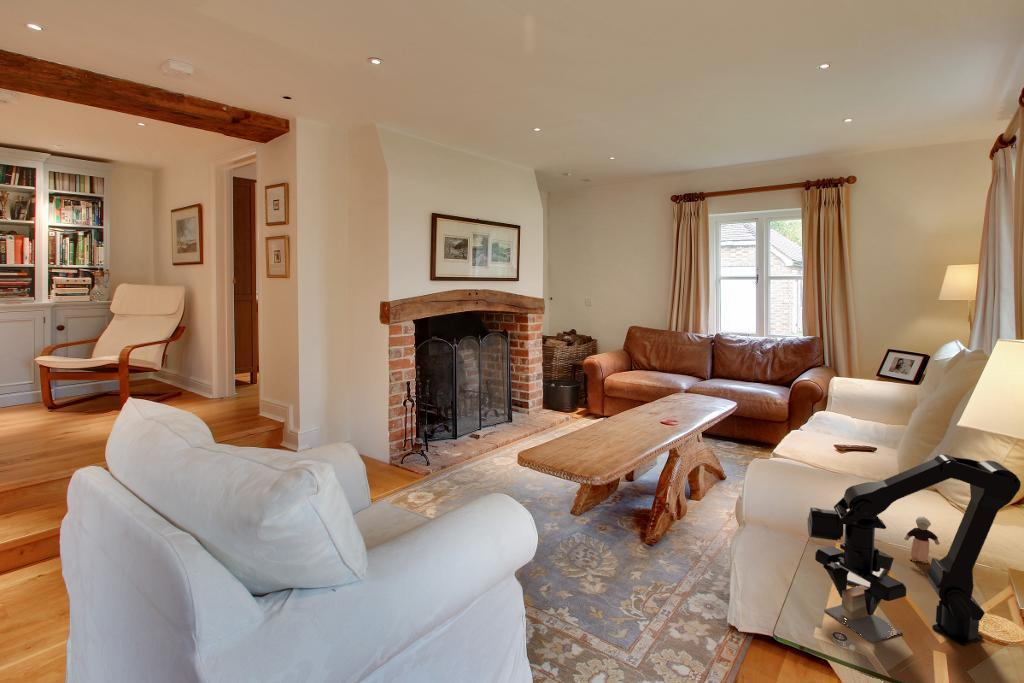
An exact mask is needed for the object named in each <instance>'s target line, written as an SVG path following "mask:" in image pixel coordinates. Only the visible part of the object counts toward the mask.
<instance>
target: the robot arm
mask: <svg viewBox="0 0 1024 683" xmlns="http://www.w3.org/2000/svg"><path fill="white" fill-rule="evenodd" d="M949 479H953V480H957V481H961V482H962V483H963V482H964V483H966V484H968V485H969V490H970V492H969V493H970V499H969V502H968V504H967V506H966V509H965V511H964V513H963V516H962V519H961V521H960V523H959V526H958V527H957V531H956V533H955V535H954V538H953V540H952V542H951V545H950V547H949V550H948V552H947V554H946V555H945V556H944V557H943V558H941V559H940V560H939V559H937V558H936V557H932V558H931V561H930V566H929V567H928V569H927V570H926V571H925V572H926V574H927V576H928V577H927V579H928V582H929V584H930V585H931V587H932V589H933V591H934V592H935V593H936V595H937V597H938V598H939V599H940V600H938V604H937V605H936V608H935V609H936V611H935V622H936V623H935V624H932V625H931V627H932V629H934V630H936V631H937V632H939V633H940V634H942V635H944V636H946V637H948V638H949V639H951V640H953V641H954V642H956V643H958V644H960V645H962V646H966V645H969V644H973V643H975V642H978V641H981V640H984V636H983V635H982V634H980V633H979V629H980V621H981V620H982V619H983V617H984V616H985V614H986V612H985V611H984V610H983V608H982V607H981V606H980V604H979V603H978V601H977V600H975V599H976V598H974V597H973V592H974V586H975V585H974V575H973V574H974V571H973V570H974V567H975V565H976V562H977V560H978V558H979V556H980V553H981V551H982V550H983V546H984V544H985V542H986V540H987V537H988V535H989V532H990V531H991V529H992V526H993V523H994V521H995V519H996V517H997V514H998V512H999V511H1000V510H1001V509H1003V508H1004V507H1006V506H1007V505H1009V504H1010V503H1011V502H1012V501H1013V499H1014V498H1015V497H1016V495H1017V494H1018V492H1019V491H1020V489H1021V486H1022V481H1021V480H1020V478H1019V477H1018V475H1016V474H1015V473H1014V472H1013V471H1011V470H1009V468H1007V467H1005V466H1004V465H1003V464H1001V463H1000V462H996V461H994V460H982V461H979V460H976V459H975V460H974V459H971V458H966V457H965V458H964V457H957V456H956V457H955V456H951V455H948V454H938V455H937V456H935V457H934V458H932V459H930V460H927V461H926V462H923V463H921V464H919V465H916V466H914V467H911V468H910V469H907V470H904V471H902V472H899V473H897V474H895V475H892V476H890V477H889V478H888V477H887V478H886V479H883V480H878V481H867V482H863V483H859V484H855V485H851V486H849V487H848V488H846V489H845V491H844V496H843V497H842V498H841V499H840V500H838V502H837V503H836V504H835V505H834V506H833V509H834V510H830V509H824V508H823V509H821V508H818V507H810V509H809V510H810V511H809V513H808V516H807V532H808V537H809V538H813V539H822V540H829V541H838V540H841V539H842V538H843V536H844V542H842V543H840V544H839V548H840V549H839V548H838V547H835V546H833V545H830V546H826V547H822V548H818V549H817V550H816V551H815V554H814V555H815V557H814V558H815V561H816V562H818V563H819V564H821V565H823V566H822V567H823V569H824V570H825V571H826V572H827V573H828V575H829V577H830V578H831V581H832V583H833V585H834V586H835V590H836V591H837V592H838V595H839V596H840V598H841V599H842V590H845V589H848V587H847V586H848V584H847V575H848V573H849V572H851V573H853V574H855V575H856V576H858V577H860V578H863V579H865V580H866V581H868V582H870V588H869V589H866V590H864V595H865V602H866V609H867V613H868V615H873V614H874V613H875V612H876V609H877V608H878V606H879V604H880V603H881V601H886V602H890V601H895V600H898V599H900V598H904V597H907V586H906V585H905V584H904V583H903V582H901V581H899V580H897V579H896V578H894V577H892V576H890V575H884V577H880V578H879V577H878V576H876V575H874V574H872V573H873V571H875V572H879V571H880V568H882V569H887V571H888V572H890V571H891V569H892V567H893V566H892V565H893V562H894V559H895V558H894V557H893V556H891V555H889V554H888V553H885V552H883V551H881V550H879V549H878V548H877V547H875V534H876V532H875V531H876V529H880V530H886V529H887V526H886V524H885V523H884V521H883V520H882V519H881V518H880V517H879V515H880V514H882V513H883V512H885V511H886V510H887V509H888V508H889V507H890V506H891V505H892V504H893V503H894V502H896V501H899V500H900V499H902V498H905V497H908V496H911V495H913V494H916V493H917V492H919V491H922V490H925V489H927V488H929V487H932V486H934V485H935V486H936V485H937V484H940V483H942V482H944V481H947V480H949Z"/></svg>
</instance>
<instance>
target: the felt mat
mask: <svg viewBox="0 0 1024 683" xmlns="http://www.w3.org/2000/svg"><path fill="white" fill-rule="evenodd" d="M823 611H824V612H825V613H827V614H828V615H829V616H831V617H832V616H833V617H832V618H834V617H835V618H837V619H838V620H839V621H838V620H837V619H836V620H837V621H838V622H840V621H841V622H843V623H845V624H846V625H848V626H849V627H850V628H851V629H850V628H849V627H848V628H849V629H850V630H852V629H853V630H855V631H856V632H858V633H859V634H861V635H862V636H863V637H864V638H863V637H862V636H861V637H862V638H863V639H865V638H866V639H867V640H866V639H865V640H866V641H868V642H869V641H870V643H871V644H874V643H877V642H879V641H883V640H882V639H884V640H886V639H885V638H887V637H889V636H891V635H890V633H891V631H893V630H892V629H893V628H894V627H895V626H894V627H893V628H891V627H892V626H893V625H892V624H890V623H889V622H887V621H885V620H883V619H882V618H881V617H879V616H877V615H875V614H874V613H873V615H870V616H867V617H863V618H860V619H857V620H853V621H851V620H849V619H848V618H846V617H845V616H843V615H841V611H842V604H840V605H836V606H833V607H828V608H825V609H824V610H823ZM835 618H834V619H835ZM844 618H846V619H847V620H845V619H844ZM845 621H846V622H845ZM841 622H840V623H841ZM843 623H842V624H843ZM888 624H889V625H888ZM846 625H845V626H846ZM890 625H891V626H890ZM853 630H852V631H853ZM895 630H899V631H897V633H896V634H899V633H900V635H902V634H903V631H901V630H900V629H898V628H897V629H895ZM855 631H854V632H855ZM888 631H890V632H888ZM856 632H855V633H856ZM901 633H902V634H901ZM859 634H858V635H859ZM892 635H893V632H892ZM887 639H888V638H887Z"/></svg>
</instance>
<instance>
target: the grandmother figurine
mask: <svg viewBox="0 0 1024 683" xmlns="http://www.w3.org/2000/svg"><path fill="white" fill-rule="evenodd" d="M915 524H916V526H917V527H914V528H912V529H910V531H908V532H907V533H906V535H905V536H904V538H903V539H904V540H905V541H909V540H910V539H911V538H912V537H914V538H913V540H912V543H911V544H912V545H911V550H910V557H909V558H908V560H909V559H910V560H912V561H911V562H913V561H915V562H916V561H917V562H918V561H919V562H920V563H922V564H925V563H926V564H925V565H928V564H927V563H929V564H930V560H928V559H929V554H930V540H932V541H933V542H934V544H935V545H937V546H940V544H941V542H939V537H938V536H937V535H936V534H935V533H934V532H932V531H930V530H929V527H931V525H932V524H931V521H930V520H929V519H928V517H927V518H926V517H925V516H918V517H916V519H915ZM910 560H909V561H910ZM915 562H914V563H915Z"/></svg>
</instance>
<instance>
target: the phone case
mask: <svg viewBox="0 0 1024 683" xmlns="http://www.w3.org/2000/svg"><path fill="white" fill-rule="evenodd" d="M887 571H888V570H887V569H882V568H880V571H879V572H875V571H873V573H872V574H874V575H876V576H878V577H879V578H880V577H884V576H886V574H887ZM847 583H848V584H847V585H849V584H850V585H849V586H852V585H854V586H853V587H855V586H860V585H862V586H864V587H866V588H868V589H869V588H870V582H868V581H866V580H865V579H863V578H860V577H858V576H856V575H855V574H853V573H851V572H849V573H848V575H847Z"/></svg>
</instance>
